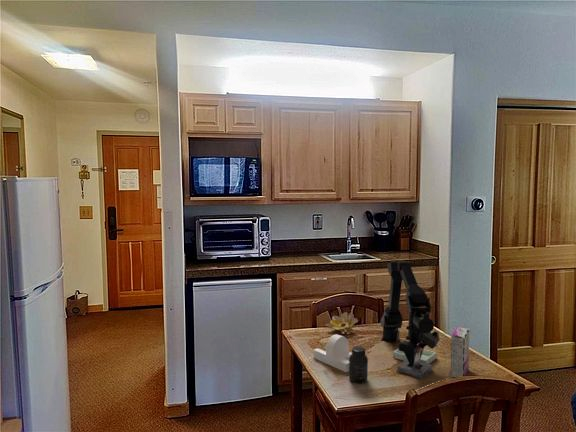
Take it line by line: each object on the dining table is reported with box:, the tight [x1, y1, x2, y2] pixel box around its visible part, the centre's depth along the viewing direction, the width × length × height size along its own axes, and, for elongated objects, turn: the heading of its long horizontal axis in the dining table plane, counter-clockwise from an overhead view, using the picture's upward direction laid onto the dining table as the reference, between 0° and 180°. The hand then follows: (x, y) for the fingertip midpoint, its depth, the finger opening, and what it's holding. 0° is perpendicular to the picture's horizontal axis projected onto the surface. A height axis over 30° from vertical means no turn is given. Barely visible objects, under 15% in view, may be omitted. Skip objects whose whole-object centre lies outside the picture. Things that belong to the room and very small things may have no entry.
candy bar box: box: [450, 326, 470, 379], centre depth 160 cm, size 11×5×16 cm, turn 148°
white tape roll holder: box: [313, 334, 352, 373], centre depth 171 cm, size 18×10×11 cm, turn 41°
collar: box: [396, 359, 433, 380], centre depth 163 cm, size 10×10×2 cm
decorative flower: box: [325, 311, 359, 335], centre depth 206 cm, size 15×11×10 cm
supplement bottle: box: [348, 345, 369, 385], centre depth 154 cm, size 7×7×12 cm
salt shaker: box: [410, 345, 422, 370], centre depth 162 cm, size 5×5×10 cm
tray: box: [392, 348, 437, 365], centre depth 175 cm, size 14×11×2 cm
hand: (415, 363), depth 163 cm, fingers open, 6 cm apart
